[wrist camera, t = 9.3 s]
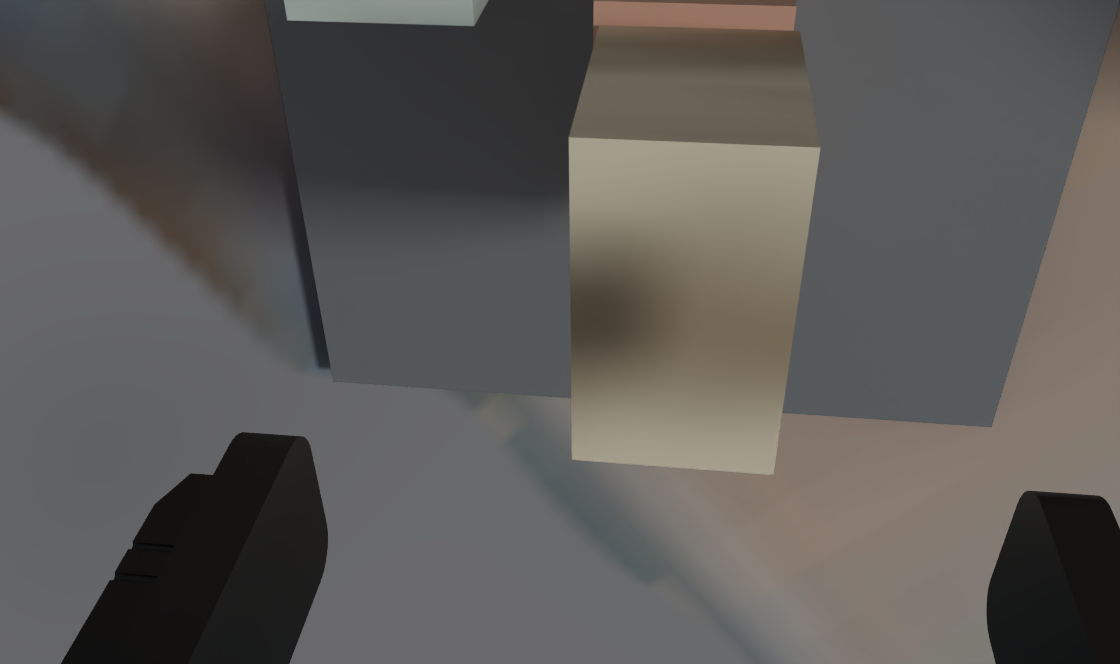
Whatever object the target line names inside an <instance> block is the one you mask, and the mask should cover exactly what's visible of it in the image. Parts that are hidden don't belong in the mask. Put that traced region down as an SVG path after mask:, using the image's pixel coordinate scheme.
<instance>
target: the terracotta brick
mask: <svg viewBox="0 0 1120 664" xmlns="http://www.w3.org/2000/svg"><path fill="white" fill-rule="evenodd" d="M796 7H797V6H796V0H594V8H593V47H594V43H595V40H596V36H597V32H598V29H599V25H613V26H647V27H681V28H716V29H750V30H784V31H794V24H795V15H796Z"/></svg>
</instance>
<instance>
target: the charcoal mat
mask: <svg viewBox="0 0 1120 664" xmlns="http://www.w3.org/2000/svg"><path fill="white" fill-rule="evenodd" d="M264 1H265V6H266V12H267V18H268V23H269V29H270V34H271V40H272V45H273V51H274V56H275V62H276V67H277V73H278V79H279V84H280V90H281V95H282V101H283V106H284V112H285V117H286V123H287V128H288V134H289V140H290V145H291V151H292V156H293V162H294V167H295V173H296V178H297V184H298V189H299V195H300V201H301V206H302V212H303V217H304V223H305V228H306V234H307V239H308V245H309V250H310V256H311V262H312V267H313V273H314V278H315V284H316V289H317V295H318V300H319V306H320V311H321V317H322V323H323V328H324V334H325V339H326V345H327V350H328V356H329V361H330V367H331V372H332V378H333V382H347V383H361V384H375V385H390V386H404V387H418V388H433V389H447V390H462V391H476V392H491V393H505V394H519V395H534V396H548V397H563V398H571V311H570V212H569V135H570V131H571V127H572V124H573V120H574V116H575V113H576V109H577V105H578V102H579V98H580V94H581V91H582V87H583V83H584V80H585V76H586V73H587V69H588V65H589V62H590V58H591V54H592V51H593V8H594V0H488V2H487V4H486V6H485V7H484V9H483V11H482V13H481V15H480V16H479V18H478V20H477V22H476V24H475V25H474V26H455V25H422V24H389V23H356V22H323V21H290V20H287V16H286V10H285V4H284V0H264ZM1119 3H1120V0H796V6H797V7H796V15H795V24H794V31H800V34H801V40H802V45H803V51H804V57H805V62H806V68H807V74H808V79H809V85H810V91H811V96H812V102H813V108H814V113H815V119H816V125H817V130H818V136H819V142H820V147H821V148H820V155H819V162H818V169H817V176H816V183H815V189H814V196H813V203H812V210H811V217H810V224H809V231H808V238H807V245H806V252H805V259H804V265H803V272H802V279H801V286H800V293H799V300H798V307H797V314H796V321H795V328H794V335H793V342H792V348H791V355H790V362H789V369H788V376H787V383H786V390H785V397H784V404H783V411H782V413H793V414H808V415H822V416H837V417H851V418H866V419H880V420H894V421H909V422H923V423H938V424H952V425H966V426H981V427H992V423H993V420H994V417H995V413H996V410H997V407H998V403H999V400H1000V397H1001V393H1002V390H1003V387H1004V384H1005V380H1006V377H1007V374H1008V370H1009V367H1010V364H1011V360H1012V357H1013V354H1014V350H1015V347H1016V344H1017V341H1018V337H1019V334H1020V331H1021V327H1022V324H1023V321H1024V317H1025V314H1026V311H1027V307H1028V304H1029V301H1030V298H1031V294H1032V291H1033V288H1034V284H1035V281H1036V278H1037V274H1038V271H1039V268H1040V264H1041V261H1042V258H1043V255H1044V251H1045V248H1046V245H1047V241H1048V238H1049V235H1050V231H1051V228H1052V225H1053V221H1054V218H1055V215H1056V212H1057V208H1058V205H1059V202H1060V198H1061V195H1062V192H1063V188H1064V185H1065V182H1066V178H1067V175H1068V172H1069V169H1070V165H1071V162H1072V159H1073V155H1074V152H1075V149H1076V145H1077V142H1078V139H1079V136H1080V132H1081V129H1082V126H1083V122H1084V119H1085V116H1086V112H1087V109H1088V106H1089V102H1090V99H1091V96H1092V93H1093V89H1094V86H1095V83H1096V79H1097V76H1098V73H1099V69H1100V66H1101V63H1102V59H1103V56H1104V53H1105V50H1106V46H1107V43H1108V40H1109V36H1110V33H1111V30H1112V26H1113V23H1114V20H1115V16H1116V13H1117V10H1118V7H1119Z"/></svg>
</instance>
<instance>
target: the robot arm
mask: <svg viewBox="0 0 1120 664" xmlns="http://www.w3.org/2000/svg"><path fill="white" fill-rule="evenodd" d="M327 548H328V531H327V523H326V518H325V513H324V509H323V504H322V499H321V495H320V490H319V485H318V480H317V476H316V471H315V466H314V461H313V456H312V452H311V448H310V445H309V442H308V441H307V439H306V438H305V437H301V436H288V435H274V434H260V433H246V432H245V433H244V432H242V433H239V434H238V435H236V436H235V438H234V439H233V440H232V442H231V443H230V445H229V447H228V449H227V450H226V452H225V454H224V456H223V458H222V460H221V461H220V463H219V465H218V467H217V469H216V471H215V473H214V474H213V475H204V474H190V475H188V476H187V477H186V478H185V479H184V480H183V481H182V482H180V483H179V484H178V485H177V486H176V487H174V488H173V489H172V490H171V491H170V492H169V493H168V494H167V495H165V496H164V497H163V498H162V499H160V500H159V501H158V502H157V503H156V504H155V505H154V506H153V508H152V510H151V511H150V513H149V515H148V516H147V518H146V520H145V522H144V523H143V525H142V527H141V529H140V530H139V532H138V534H137V535H136V537H135V539H134V540H133V547H132V549H128V550H127V552H126V554H125V556H124V557H123V559H122V561H121V563H120V564H119V566H118V568H117V569H116V571H115V578H114V580H110V581H109V583H108V584H107V586H106V588H105V590H104V591H103V593H102V595H101V596H100V598H99V600H98V601H97V603H96V605H95V607H94V609H93V610H92V612H91V613H90V615H89V617H88V619H87V620H86V622H85V623H84V625H83V627H82V629H81V630H80V632H79V634H78V635H77V637H76V639H75V641H74V642H73V644H72V646H71V647H70V649H69V651H68V652H67V654H66V656H65V657H64V659H63V661H62V663H61V664H289V663H290V660H291V658H292V655H293V652H294V650H295V647H296V644H297V642H298V639H299V636H300V634H301V631H302V628H303V626H304V624H305V621H306V618H307V616H308V613H309V610H310V608H311V605H312V603H313V600H314V597H315V594H316V592H317V589H318V587H319V584H320V582H321V578H322V575H323V572H324V568H325V563H326V556H327ZM987 626H988V633H989V638H990V643H991V647H992V650H993V654H994V658H995V662H996V664H1120V528H1119V526H1118V524H1117V521H1116V519H1115V517H1114V514H1113V512H1112V510H1111V508H1110V506H1109V504H1108V503H1107V501H1106V500H1105V499H1104V498H1103V497H1101V496H1095V495H1081V494H1067V493H1053V492H1039V491H1026V492H1025V493H1024V494H1023V495H1022V496H1021V498H1020V499H1019V502H1018V504H1017V507H1016V510H1015V512H1014V515H1013V518H1012V521H1011V524H1010V526H1009V529H1008V532H1007V535H1006V538H1005V541H1004V543H1003V546H1002V549H1001V552H1000V555H999V557H998V560H997V563H996V566H995V569H994V572H993V574H992V577H991V580H990V584H989V589H988V595H987Z"/></svg>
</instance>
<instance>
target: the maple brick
mask: <svg viewBox="0 0 1120 664" xmlns="http://www.w3.org/2000/svg"><path fill="white" fill-rule="evenodd" d="M820 148H821V147H820V142H819V136H818V130H817V125H816V119H815V113H814V108H813V102H812V96H811V91H810V85H809V79H808V74H807V68H806V62H805V57H804V51H803V45H802V40H801V34H800V31H784V30H750V29H716V28H681V27H647V26H613V25H599V29H598V32H597V36H596V40H595V43H594V47H593V51H592V54H591V58H590V62H589V65H588V69H587V73H586V76H585V80H584V83H583V87H582V91H581V94H580V98H579V102H578V105H577V109H576V113H575V116H574V120H573V124H572V127H571V131H570V135H569V212H570V311H571V410H572V460H583V461H596V462H610V463H623V464H636V465H649V466H663V467H676V468H689V469H702V470H716V471H729V472H742V473H755V474H769V475H773V473H774V466H775V459H776V452H777V445H778V438H779V431H780V424H781V418H782V411H783V404H784V397H785V390H786V383H787V376H788V369H789V362H790V355H791V348H792V342H793V335H794V328H795V321H796V314H797V307H798V300H799V293H800V286H801V279H802V272H803V265H804V259H805V252H806V245H807V238H808V231H809V224H810V217H811V210H812V203H813V196H814V189H815V183H816V176H817V169H818V162H819V155H820Z"/></svg>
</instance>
